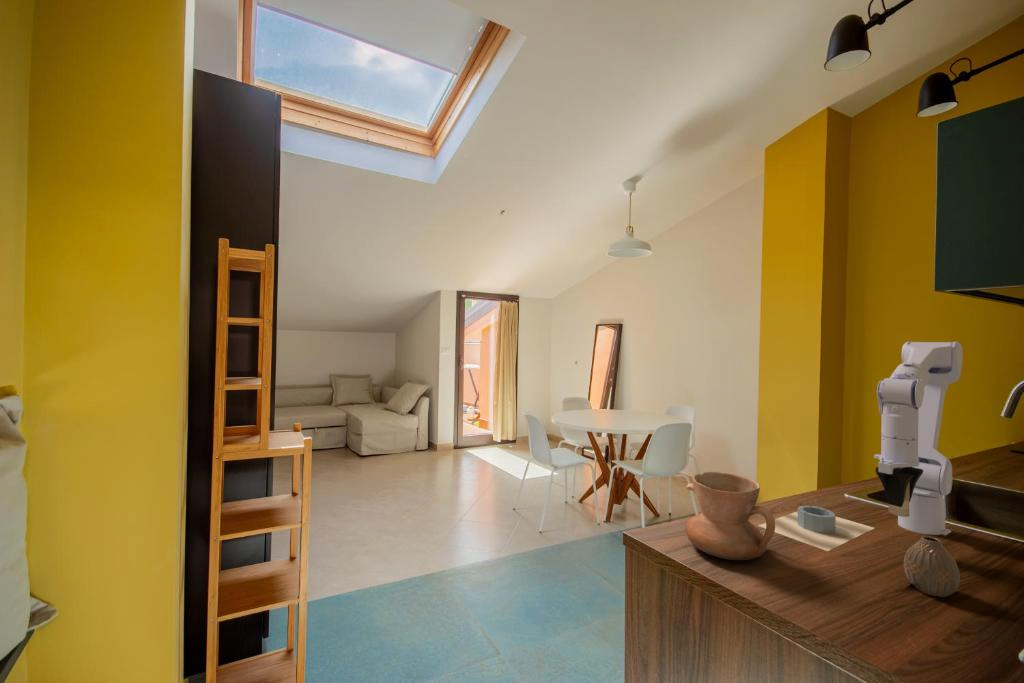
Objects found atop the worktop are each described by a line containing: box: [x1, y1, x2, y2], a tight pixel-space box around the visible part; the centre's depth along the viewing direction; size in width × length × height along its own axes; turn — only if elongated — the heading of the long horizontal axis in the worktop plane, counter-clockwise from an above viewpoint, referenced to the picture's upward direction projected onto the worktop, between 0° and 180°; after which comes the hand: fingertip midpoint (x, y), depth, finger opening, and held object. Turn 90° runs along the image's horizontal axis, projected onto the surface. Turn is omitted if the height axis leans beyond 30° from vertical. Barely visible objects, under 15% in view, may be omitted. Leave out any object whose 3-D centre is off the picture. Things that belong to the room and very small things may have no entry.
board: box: [757, 510, 876, 552], centre depth 99 cm, size 22×14×1 cm, turn 122°
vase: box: [903, 535, 961, 598], centre depth 75 cm, size 7×7×9 cm
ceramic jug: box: [685, 471, 775, 561], centre depth 88 cm, size 18×14×14 cm
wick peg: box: [887, 482, 910, 517], centre depth 91 cm, size 3×3×8 cm
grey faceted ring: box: [797, 505, 837, 533], centre depth 99 cm, size 7×7×4 cm
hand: (898, 503), depth 91 cm, fingers closed on wick peg, 3 cm apart
